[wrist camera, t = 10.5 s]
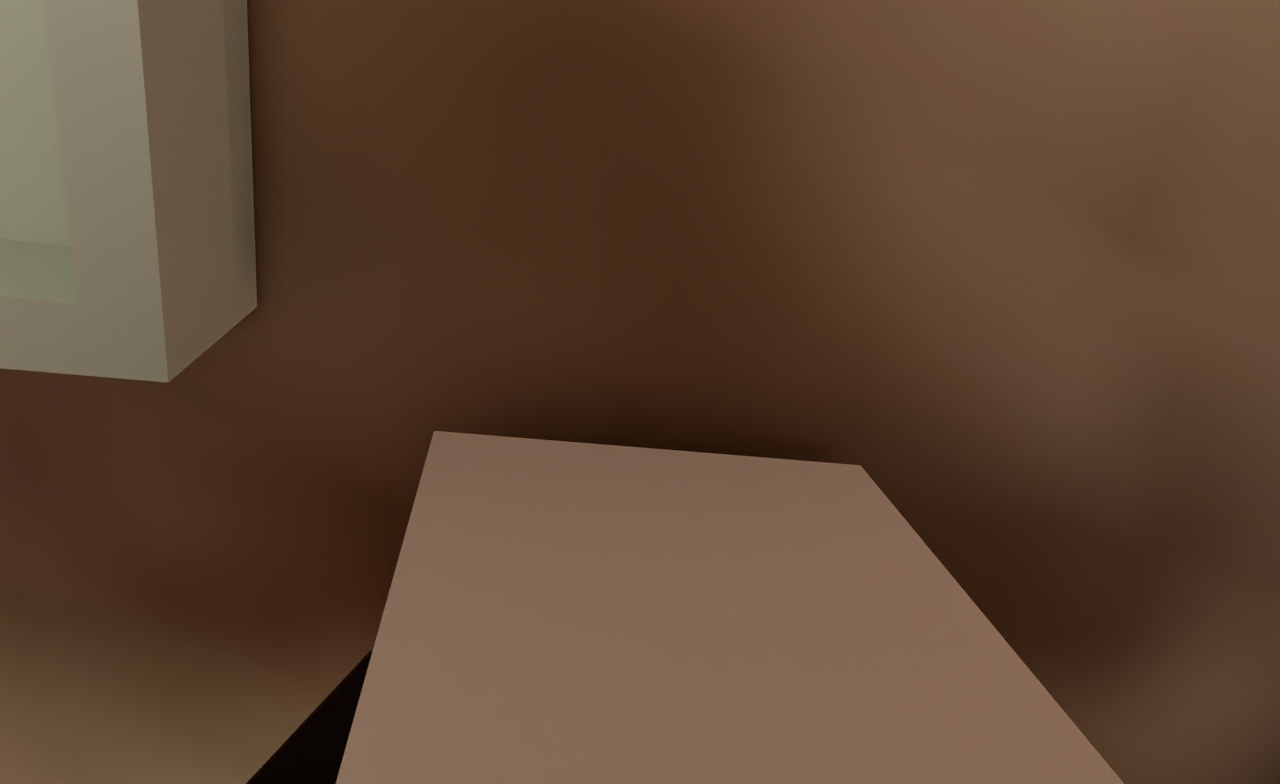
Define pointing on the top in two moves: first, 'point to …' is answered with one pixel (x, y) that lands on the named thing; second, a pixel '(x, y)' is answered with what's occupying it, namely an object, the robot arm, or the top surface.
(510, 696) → the cream block
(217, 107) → the tray
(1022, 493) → the top surface
